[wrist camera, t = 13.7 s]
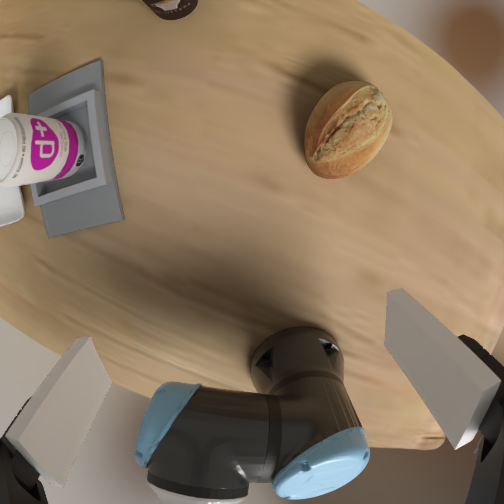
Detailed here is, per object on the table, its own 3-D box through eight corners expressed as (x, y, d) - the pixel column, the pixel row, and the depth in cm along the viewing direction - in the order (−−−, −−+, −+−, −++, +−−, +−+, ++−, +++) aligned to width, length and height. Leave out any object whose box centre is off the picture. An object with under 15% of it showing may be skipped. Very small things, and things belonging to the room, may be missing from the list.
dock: (124, 218, 38) (116, 223, 36) (51, 236, 39) (41, 241, 36) (103, 61, 31) (94, 55, 29) (31, 95, 32) (21, 92, 29)
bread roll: (279, 151, 37) (289, 147, 29) (339, 69, 34) (360, 51, 26) (336, 193, 39) (358, 200, 31) (391, 112, 35) (420, 104, 28)
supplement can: (91, 118, 33) (24, 104, 19) (88, 176, 35) (20, 187, 21) (47, 125, 33) (-21, 120, 18) (46, 179, 35) (-24, 192, 21)
